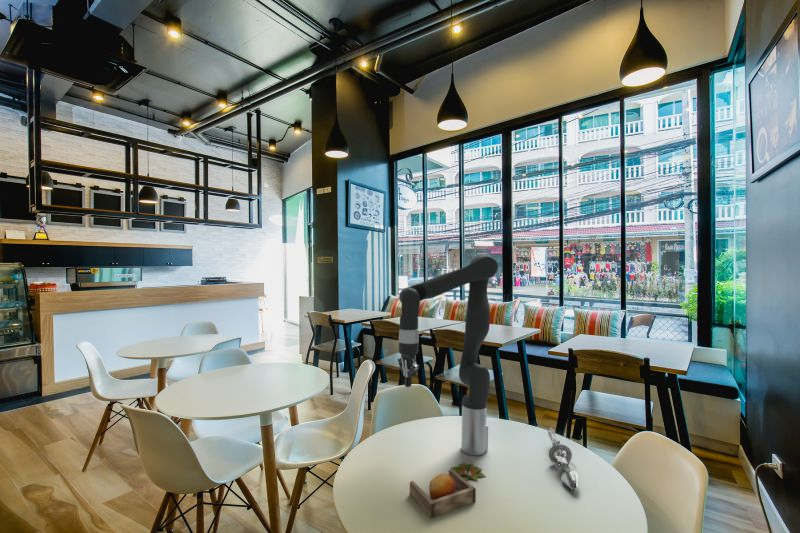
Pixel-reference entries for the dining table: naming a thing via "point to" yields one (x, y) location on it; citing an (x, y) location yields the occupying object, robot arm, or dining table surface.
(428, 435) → the dining table surface
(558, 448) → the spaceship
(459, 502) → the brown wooden u-shaped frame
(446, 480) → the fruit
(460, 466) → the lily flower
